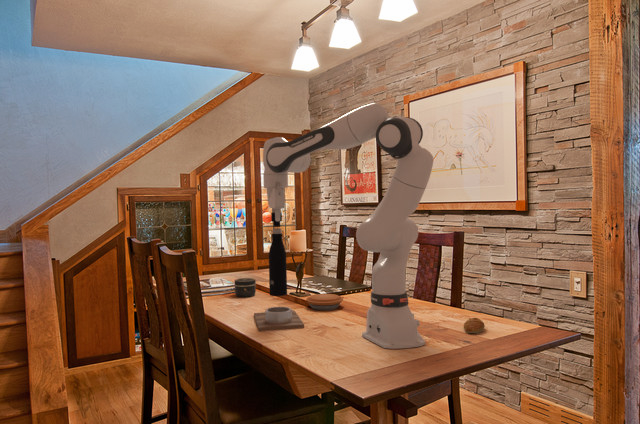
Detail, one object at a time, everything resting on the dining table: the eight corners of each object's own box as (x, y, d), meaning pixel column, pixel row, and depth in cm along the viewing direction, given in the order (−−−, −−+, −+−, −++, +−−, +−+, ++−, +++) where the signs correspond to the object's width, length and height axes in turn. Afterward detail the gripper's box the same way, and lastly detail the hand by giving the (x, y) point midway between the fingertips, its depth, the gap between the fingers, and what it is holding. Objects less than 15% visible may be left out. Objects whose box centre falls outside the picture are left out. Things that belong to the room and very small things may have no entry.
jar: (235, 298, 223) (234, 282, 222) (234, 294, 232) (233, 278, 232) (257, 297, 225) (256, 280, 225) (254, 293, 235) (254, 277, 235)
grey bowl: (293, 322, 173) (293, 311, 173) (266, 324, 171) (266, 313, 171) (289, 316, 182) (289, 305, 182) (264, 318, 180) (264, 307, 180)
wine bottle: (288, 292, 179) (286, 212, 178) (285, 296, 173) (283, 212, 172) (271, 292, 180) (269, 212, 179) (267, 296, 174) (265, 213, 173)
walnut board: (304, 327, 171) (304, 324, 171) (258, 331, 167) (258, 327, 167) (294, 313, 192) (294, 310, 192) (253, 316, 189) (253, 313, 189)
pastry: (482, 336, 157) (482, 324, 157) (461, 334, 160) (461, 323, 160) (485, 328, 166) (484, 317, 166) (464, 327, 169) (464, 316, 169)
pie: (299, 310, 198) (299, 297, 198) (316, 302, 212) (315, 290, 212) (334, 313, 192) (334, 300, 192) (348, 304, 206) (348, 293, 206)
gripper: (288, 181, 166) (289, 221, 166) (280, 183, 186) (281, 219, 186) (270, 182, 164) (271, 222, 165) (264, 183, 184) (265, 220, 185)
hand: (276, 220), depth 176 cm, fingers closed on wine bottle, 4 cm apart
